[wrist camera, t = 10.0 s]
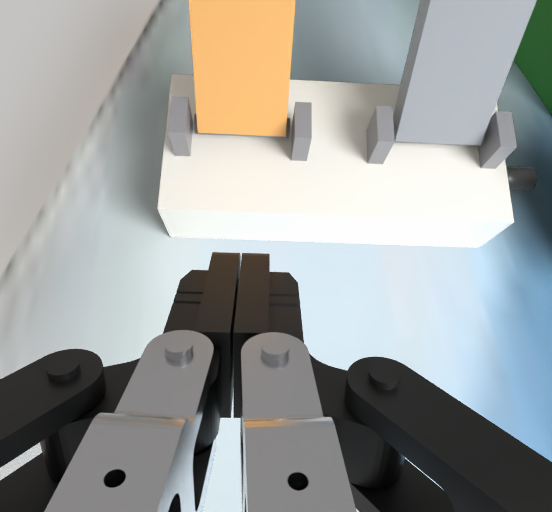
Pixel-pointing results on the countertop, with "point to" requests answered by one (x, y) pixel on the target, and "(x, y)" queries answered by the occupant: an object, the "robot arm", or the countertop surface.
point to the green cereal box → (538, 51)
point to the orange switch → (242, 66)
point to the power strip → (335, 175)
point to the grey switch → (457, 69)
